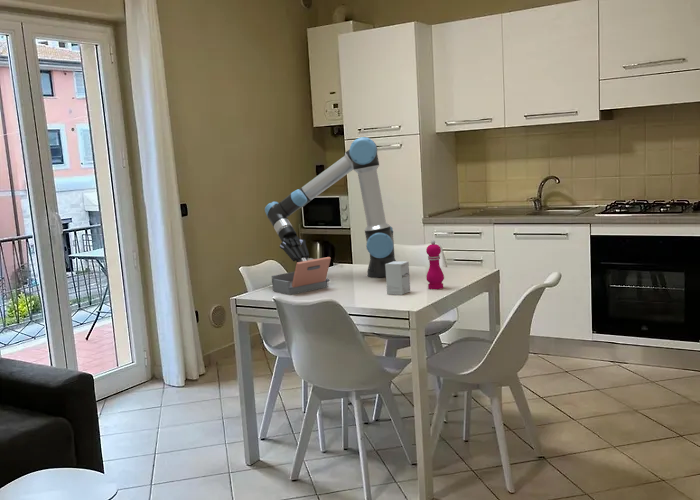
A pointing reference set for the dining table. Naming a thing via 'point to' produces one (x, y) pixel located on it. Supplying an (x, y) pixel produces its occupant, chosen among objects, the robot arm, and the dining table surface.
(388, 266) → the supplement box
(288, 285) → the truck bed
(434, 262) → the pepper mill
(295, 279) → the panel
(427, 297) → the dining table surface
